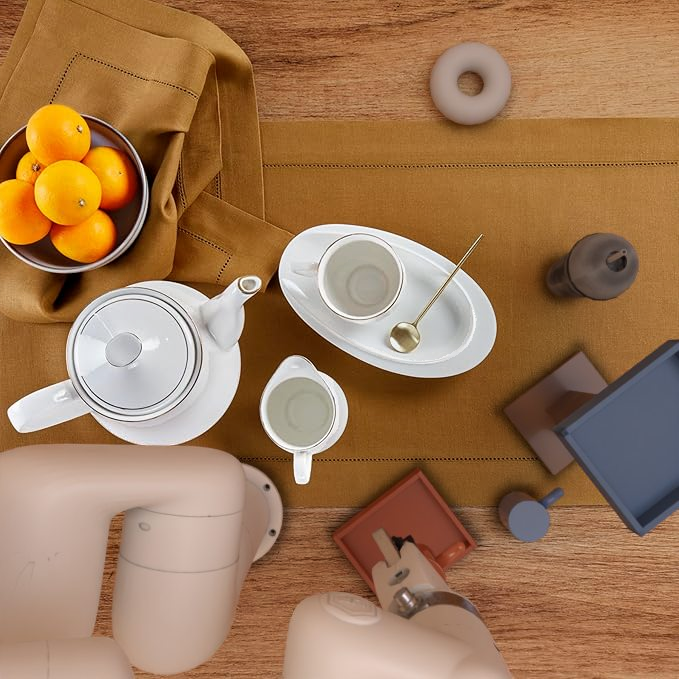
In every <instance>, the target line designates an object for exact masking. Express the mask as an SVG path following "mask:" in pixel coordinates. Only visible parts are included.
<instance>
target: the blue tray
mask: <svg viewBox="0 0 679 679" xmlns="http://www.w3.org/2000/svg"><path fill="white" fill-rule="evenodd" d="M608 385H609V386H607V387H606V388H605V389H603V390H602V391H601V392H599V393H598V394H597V395H596V396H594V397H593V398H592V399H590V400H589V401H588V402H586V403H585V404H584V405H582V406H581V407H580V408H579V409H577V410H576V411H575V412H573V413H572V414H571V415H569V416H568V417H567V418H566V419H564V420H563V421H562V422H560V423H559V424H558V425H556V426H555V427H554V428H552V431H553V432H554V433H555V435H556V436H557V437H558V438H559V440H560V441H561V442H562V444H563V445H564V446H565V448H566V449H567V450H568V451H569V453H570V454H571V455H572V457H573V458H574V459H575V460H574V461H576V463H577V465H578V466H579V467H580V468H581V470H582V471H583V472H584V473H585V475H586V476H587V478H588V479H589V480H590V481H591V483H592V484H593V485H594V486H595V488H596V489H597V491H598V492H599V493H600V495H602V497H603V498H604V500H605V501H606V502H607V504H608V505H609V506H610V507H611V509H612V510H613V511H614V512H615V514H616V515H617V516H618V518H619V519H620V521H621V522H622V523H623V524H624V525H625V527H626V528H627V529H628V530H629V531H630V532H632V533H634V534H636V535H637V536H638V537H640V538H643V537H644V536H645V535H648V533H650V532H651V531H652V530H653V529H655V528H656V527H657V526H659V525H660V524H661V523H662V522H664V521H666V519H667V518H669V517H670V516H672V515H673V514H675V512H677V511H678V510H679V338H676V339H667V340H665V342H663V343H662V344H661V345H659V346H658V347H657V348H656V349H654V350H653V351H651V352H650V353H649V354H648V355H646V356H645V357H644V358H643V359H640V361H638V362H637V363H636V364H634V366H633V365H632V367H631V368H629V369H628V370H627V371H626V372H624V373H623V374H622V375H620V376H619V377H618V378H616V379H615V380H614V381H612V382H611V383H610V384H608Z"/></svg>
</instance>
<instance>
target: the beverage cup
mask: <svg viewBox="0 0 679 679" xmlns="http://www.w3.org/2000/svg"><path fill="white" fill-rule="evenodd" d="M639 271H640V259H639V255H638V252H637V250H636V249H635V247H634V246H633V244H632V243H631V242H630V241H629V240H627V239H626V238H625V237H624V236H621V235H618V234H615V233H612V232H595V233H590V234H587V235H585V236H584V237H582V238H581V239H579V240H576V243H575V244H574V245H573V246H572V248H571V249H570V250H569V251H568V252H567V253H566V254H565V255H563V256H562V257H561V258H559V259H558V260H557V261H555V262H554V263H553V264H552V265H551V267H549V269H548V271H547V273H546V278H545V279H546V285H547V288H548V289H549V291H550V292H551V293H552V294H553V295H555V296H557V297H560V298H566V299H581V298H583V299H584V298H586V299H589V300H592V301H595V302H597V301H598V302H607V301H610V300H614V299H616V298H618V297H619V296H621V295H623V294H624V293H625V292H626V291H628V290H629V289H630V288H631V286H632V285H633V284H634V283H635V281H636V279H637V277H638V274H639Z"/></svg>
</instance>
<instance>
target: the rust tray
mask: <svg viewBox="0 0 679 679" xmlns="http://www.w3.org/2000/svg"><path fill="white" fill-rule="evenodd" d="M381 526H382V527H383V528H384V529H385V530H386V531H387V532H388V533H389V534H390V535H391V537H392V536H396V537H402V538H403V539H404V538H406V537H407V536H408V535H411V536H412V537H413V538H414V541H415V543H420V544H424V545H426V546H428V547H430V548H431V549H432V550H433V551H434V552H435V553H436V555H437V556H438V555H439V554H441V553H442V552H443V551H444V550H446V549H447V548H448V547H450V546H451V545H452V544H454V543H455V542H456V541H461V542H463V543H464V544H465V551H464V552H463V553H462V554H460V555H459V556H458V557H456V558H455V559H454V560H453V561H451V562H450V563H449V564H447V565H446V566H445V567H444V568H443V571H444V573H445V572H447V571H448V570H449V569H451V567H453V566H454V565H456V563H458V562H460V561H461V560H462V559H463V558H464V557H466V556H467V555H469V554H470V553H471V552H473V551H474V550H475V549H477V548H478V547H479V544H478V543H477V542H476V541H475V539H474V538H473V536H472V535H471V534H470V532H469V531H468V530H467V528H466V527H465V526H464V525H463V523H462V522H461V520H459V518H458V517H457V516H456V514H455V513H454V512H453V510H452V509H451V508H450V507H449V505H448V504H447V502H446V501H445V500H444V498H443V497H442V496H441V494H440V493H439V492H438V491H437V489H436V488H435V486H433V484H432V482H430V480H429V479H428V477H427V476H426V475H425V474H424V472H423V471H422V470H421V468H420V467H419V466H418V467H416V468H415V469H414V470H413V471H411V472H410V473H408V475H406V476H405V477H403V478H402V479H401V480H399V481H398V482H397V483H395V484H394V485H393V486H391V487H390V488H389V489H388V490H386V491H385V492H383V494H381V495H380V496H379V497H378V498H376V499H375V500H373V501H372V502H371V503H369V504H368V505H367V506H365V507H364V508H363V509H361V510H360V511H359V512H358V513H357V514H355V515H354V516H353V517H351V518H350V519H348V520H347V521H346V522H345V523H343V524H342V525H341V526H339V527H338V528H337V529H335V530H334V531H333V532H332V539H333V541H334V542H335V543H336V545H337V546H338V548H340V550H341V551H342V553H343V554H344V555H345V557H346V558H347V559H348V560H349V563H351V565H352V566H353V567H354V568H355V570H356V571H357V572H358V574H359V576H360V577H361V578H362V579H363V580H364V582H365V583H366V584H367V585H368V587H369V589H370V590H371V591H372V592H373V594H374V595H375V596H376V598H378V596H377V593H376V589H375V585H374V581H373V577H372V568H373V567H374V566H375V565H376V564H377V563H378V562H379V561H385V562H386V560H385V557H384V555H383V553H382V552H381V550H380V548H379V546H378V545H377V543H376V541H375V539H374V538H373V536H372V533H373V532H375V531H376V530H377V529H378V528H380V527H381ZM386 563H387V562H386ZM387 565H388V564H387Z"/></svg>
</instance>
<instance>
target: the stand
mask: <svg viewBox="0 0 679 679" xmlns="http://www.w3.org/2000/svg"><path fill="white" fill-rule="evenodd" d="M609 385H610V384H608V382H607V381H606V380H605V378H604V377H603V376H602V375H601V374H600V372H599V371H598V370H597V369H596V367H595V366H594V364H593V363H592V362H591V361H590V359H589V358H588V356H586V354H585V353H584V351H583V350H577V351H576V352H575V353H573V354H572V355H571V356H569V357H568V358H567V359H566V360H564V361H563V362H562V363H561V364H559V365H558V366H557V367H555V368H554V369H553V370H551V371H550V372H548V373H547V374H546V375H545V376H544V377H542V378H541V379H539V380H538V381H536V383H534V384H533V385H531V387H529V388H527V390H525V391H524V392H523V393H521V394H520V395H519V396H518V397H516V398H515V399H513V400H512V401H510V403H508V404H507V405H506V406H504V407H502V409H501V411H502V413H503V414H504V415H505V416H506V418H507V419H508V420H509V421H510V423H511V424H512V425H513V426H514V428H515V429H516V431H517V432H518V433H519V435H520V436H521V437H522V439H524V441H525V442H526V444H527V445H528V446H529V447H530V449H531V450H532V452H534V454H535V455H536V457H537V458H538V459H539V460H540V462H541V463H542V464H543V465H544V467H545V469H546V470H547V471H548V472H549V474H550V475H551V476H553V477H554V476H556V475H558V474H559V473H560V472H561V471H563V470H564V469H565V468H566V467H567V466H569V465H570V464H572V463H573V462H574V461H575V459H574V458H573V457H572V455H571V454H570V453H569V451H568V450H567V449H566V448H565V446H564V445H563V444H562V442H561V441H560V440H559V438H558V437H557V436H556V435H555V433H554V432H553V431H552V428H554V427H555V426H556V425H558V424H559V423H560V422H562V421H563V420H564V419H566V418H567V417H568V416H569V415H571V414H572V413H573V412H575V411H576V410H577V409H579V408H580V407H581V406H582V405H584V404H585V403H586V402H588V401H589V400H590V399H592V398H593V397H594V396H596V395H597V394H598V393H599V392H601V391H602V390H603V389H605V388H606V387H607V386H609Z"/></svg>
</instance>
